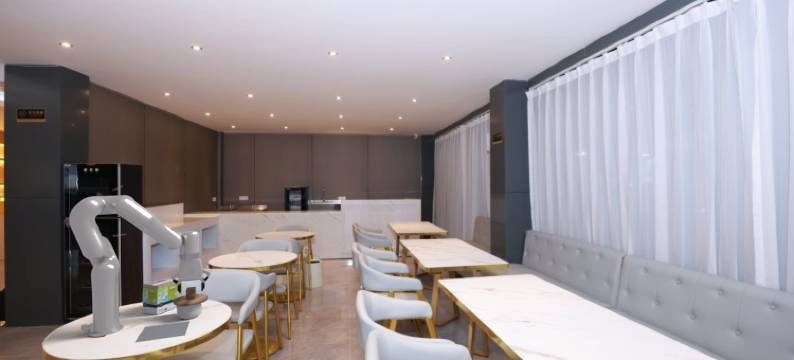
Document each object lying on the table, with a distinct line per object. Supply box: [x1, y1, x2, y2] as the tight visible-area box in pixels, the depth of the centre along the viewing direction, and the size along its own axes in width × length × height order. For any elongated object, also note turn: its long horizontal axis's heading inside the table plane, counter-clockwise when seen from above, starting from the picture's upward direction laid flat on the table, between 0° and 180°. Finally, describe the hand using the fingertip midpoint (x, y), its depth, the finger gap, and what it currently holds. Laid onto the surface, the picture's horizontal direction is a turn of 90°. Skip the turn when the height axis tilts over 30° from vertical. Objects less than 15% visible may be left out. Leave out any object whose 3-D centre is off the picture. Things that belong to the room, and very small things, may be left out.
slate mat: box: [135, 320, 191, 343], centre depth 173 cm, size 18×18×1 cm
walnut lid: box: [173, 286, 209, 306], centre depth 192 cm, size 15×15×6 cm
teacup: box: [176, 303, 203, 321], centre depth 192 cm, size 14×11×8 cm
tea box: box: [142, 277, 183, 316], centre depth 204 cm, size 15×10×15 cm, turn 162°
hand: (191, 291), depth 192 cm, fingers open, 9 cm apart
